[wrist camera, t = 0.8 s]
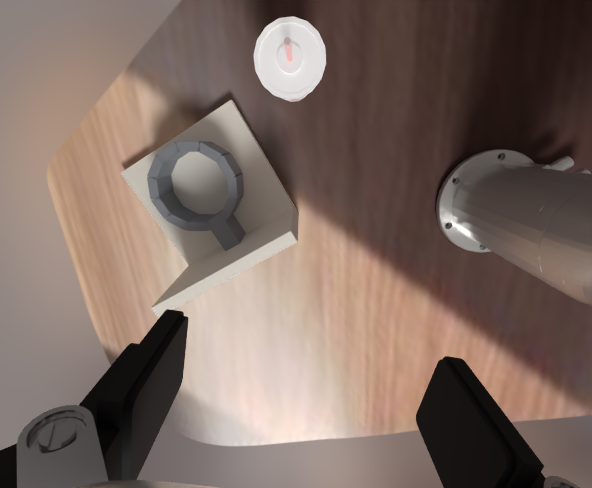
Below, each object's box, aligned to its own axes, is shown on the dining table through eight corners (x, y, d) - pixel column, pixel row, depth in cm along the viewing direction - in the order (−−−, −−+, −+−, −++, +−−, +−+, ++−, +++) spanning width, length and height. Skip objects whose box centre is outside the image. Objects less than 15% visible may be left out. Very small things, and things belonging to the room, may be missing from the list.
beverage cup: (316, 111, 35) (325, 94, 22) (263, 106, 35) (241, 85, 22) (323, 50, 33) (338, -8, 20) (267, 44, 33) (244, -19, 20)
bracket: (233, 100, 35) (200, 82, 24) (298, 212, 39) (297, 241, 28) (125, 172, 38) (50, 186, 27) (197, 269, 42) (158, 317, 31)
